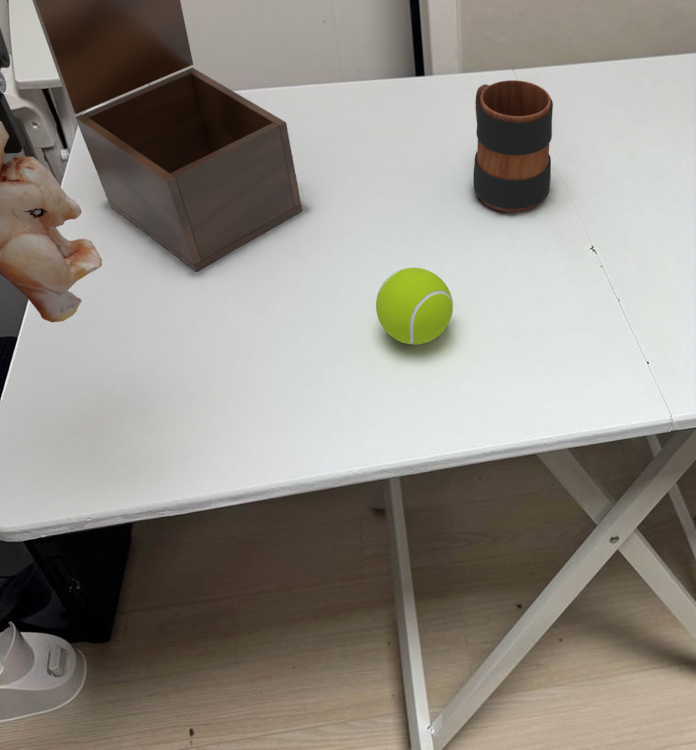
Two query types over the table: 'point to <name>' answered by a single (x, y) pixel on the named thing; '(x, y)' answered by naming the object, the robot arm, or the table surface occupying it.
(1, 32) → the robot arm
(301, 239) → the table surface
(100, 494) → the table surface
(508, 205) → the mug
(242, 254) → the table surface
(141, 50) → the lid
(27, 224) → the figurine
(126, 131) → the chest
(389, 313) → the tennis ball
